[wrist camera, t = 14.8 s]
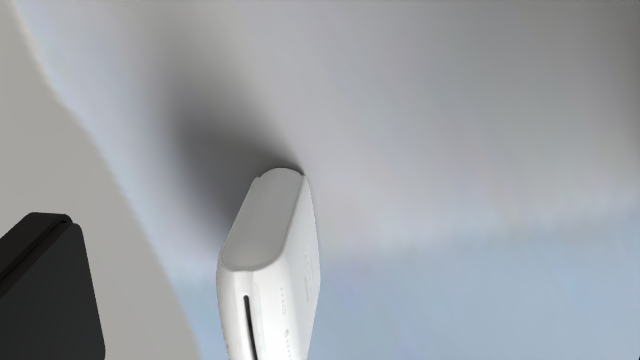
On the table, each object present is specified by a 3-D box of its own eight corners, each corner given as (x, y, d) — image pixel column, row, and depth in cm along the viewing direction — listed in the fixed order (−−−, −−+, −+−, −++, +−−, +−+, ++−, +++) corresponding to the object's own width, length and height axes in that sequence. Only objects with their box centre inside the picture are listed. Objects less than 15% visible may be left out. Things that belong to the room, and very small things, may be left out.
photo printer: (326, 290, 45) (302, 424, 34) (269, 291, 45) (228, 422, 34) (312, 164, 40) (280, 270, 29) (250, 166, 41) (195, 271, 30)
